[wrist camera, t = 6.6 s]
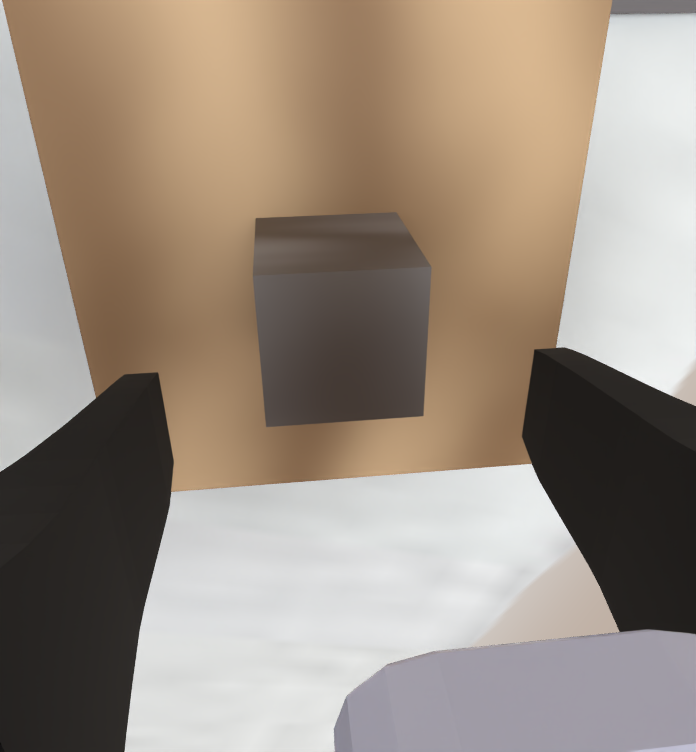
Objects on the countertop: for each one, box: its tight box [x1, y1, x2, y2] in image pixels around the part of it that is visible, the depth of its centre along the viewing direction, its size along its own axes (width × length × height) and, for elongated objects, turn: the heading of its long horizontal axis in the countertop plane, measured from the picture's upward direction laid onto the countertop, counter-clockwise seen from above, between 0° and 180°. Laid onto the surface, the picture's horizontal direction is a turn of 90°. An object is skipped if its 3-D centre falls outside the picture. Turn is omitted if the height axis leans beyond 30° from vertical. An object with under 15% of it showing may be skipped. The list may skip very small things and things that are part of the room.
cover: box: [2, 0, 612, 492], centre depth 16 cm, size 13×13×5 cm
